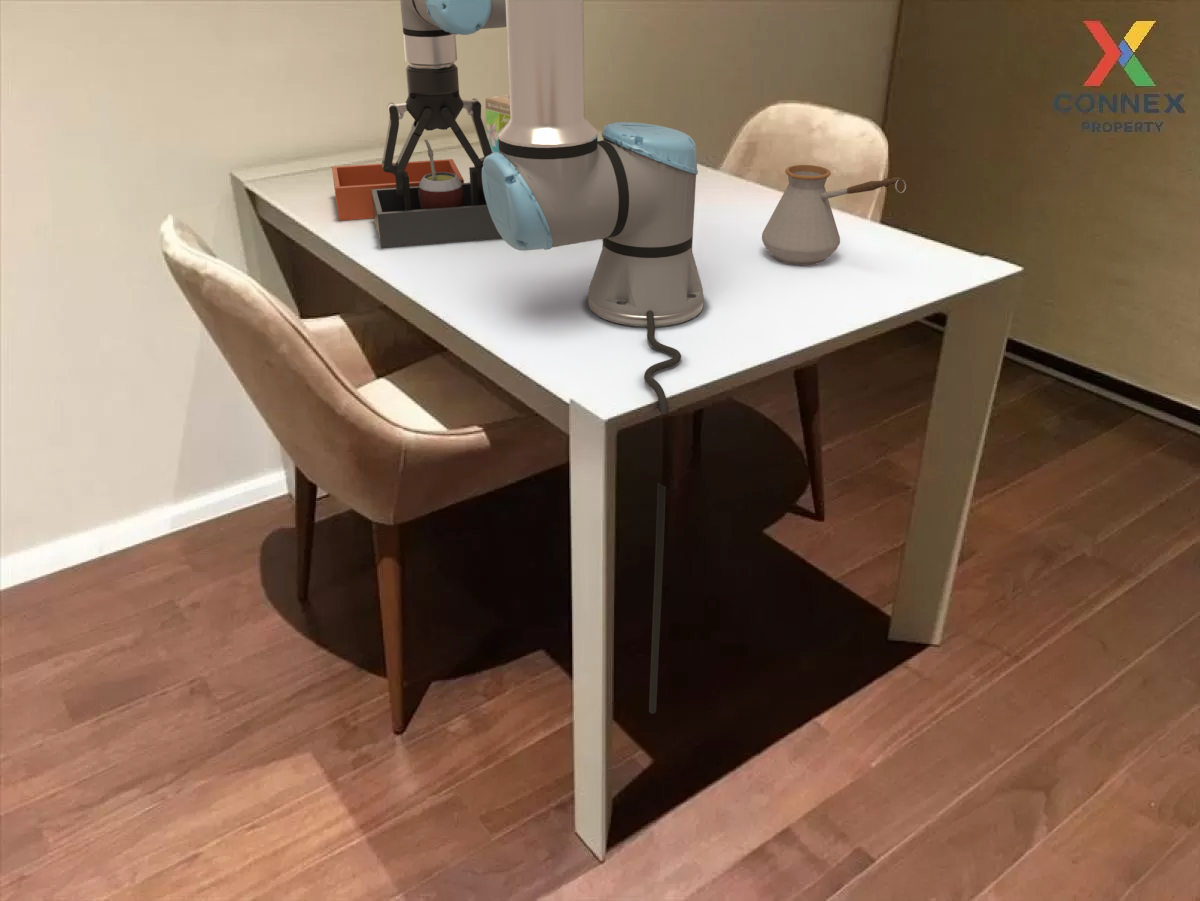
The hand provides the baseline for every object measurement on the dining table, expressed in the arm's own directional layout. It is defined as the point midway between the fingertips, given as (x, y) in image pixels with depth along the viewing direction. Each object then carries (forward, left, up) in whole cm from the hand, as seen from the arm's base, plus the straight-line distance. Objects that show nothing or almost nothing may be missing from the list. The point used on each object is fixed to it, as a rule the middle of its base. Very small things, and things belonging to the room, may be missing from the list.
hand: (442, 212), depth 164 cm
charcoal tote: (0, 0, -3) cm, 3 cm away
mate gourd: (0, 0, -3) cm, 3 cm away
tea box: (+24, -20, -3) cm, 32 cm away
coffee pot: (-30, -52, -3) cm, 60 cm away
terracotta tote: (+15, +5, -3) cm, 16 cm away
